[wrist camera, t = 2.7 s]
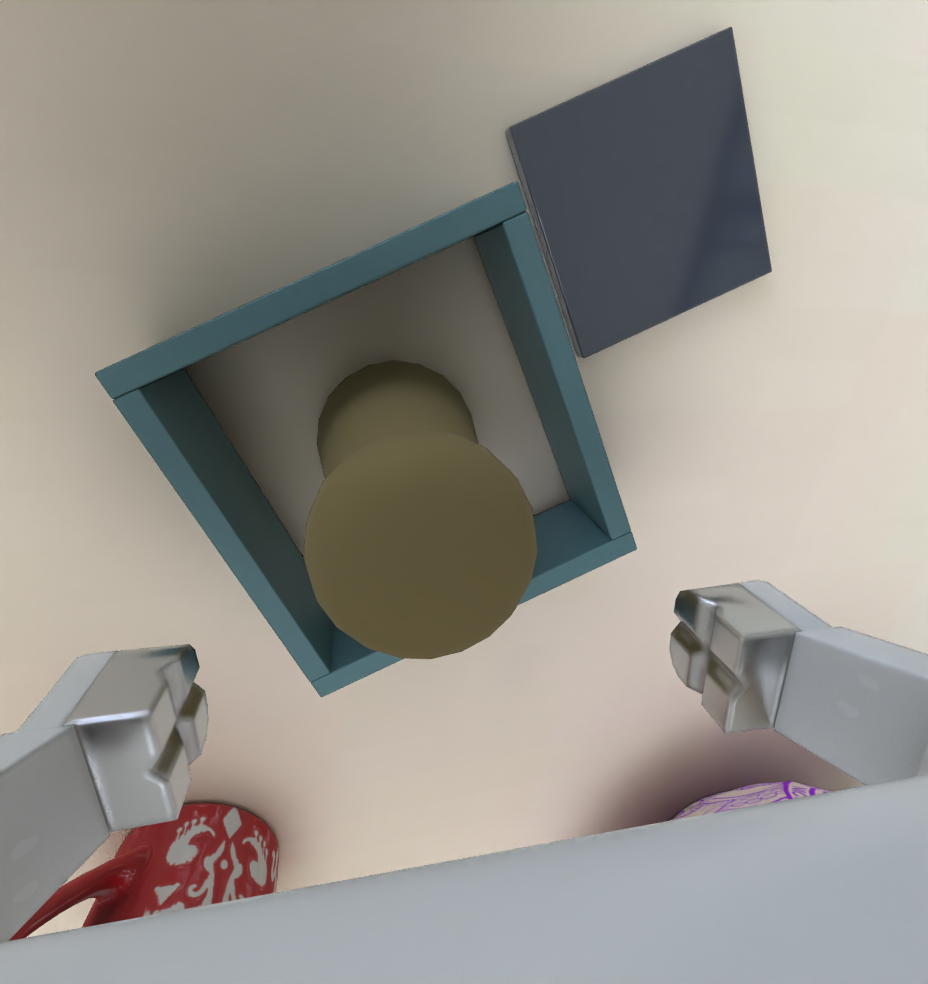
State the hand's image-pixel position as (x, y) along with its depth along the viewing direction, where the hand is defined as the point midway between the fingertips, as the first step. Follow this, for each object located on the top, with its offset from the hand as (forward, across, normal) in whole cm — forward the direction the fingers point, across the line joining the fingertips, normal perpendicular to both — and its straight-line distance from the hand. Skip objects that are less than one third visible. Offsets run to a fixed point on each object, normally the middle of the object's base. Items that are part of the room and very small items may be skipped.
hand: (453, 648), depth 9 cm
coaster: (+13, -9, -8) cm, 18 cm away
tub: (+13, 0, 0) cm, 13 cm away
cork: (+13, 0, 0) cm, 13 cm away
